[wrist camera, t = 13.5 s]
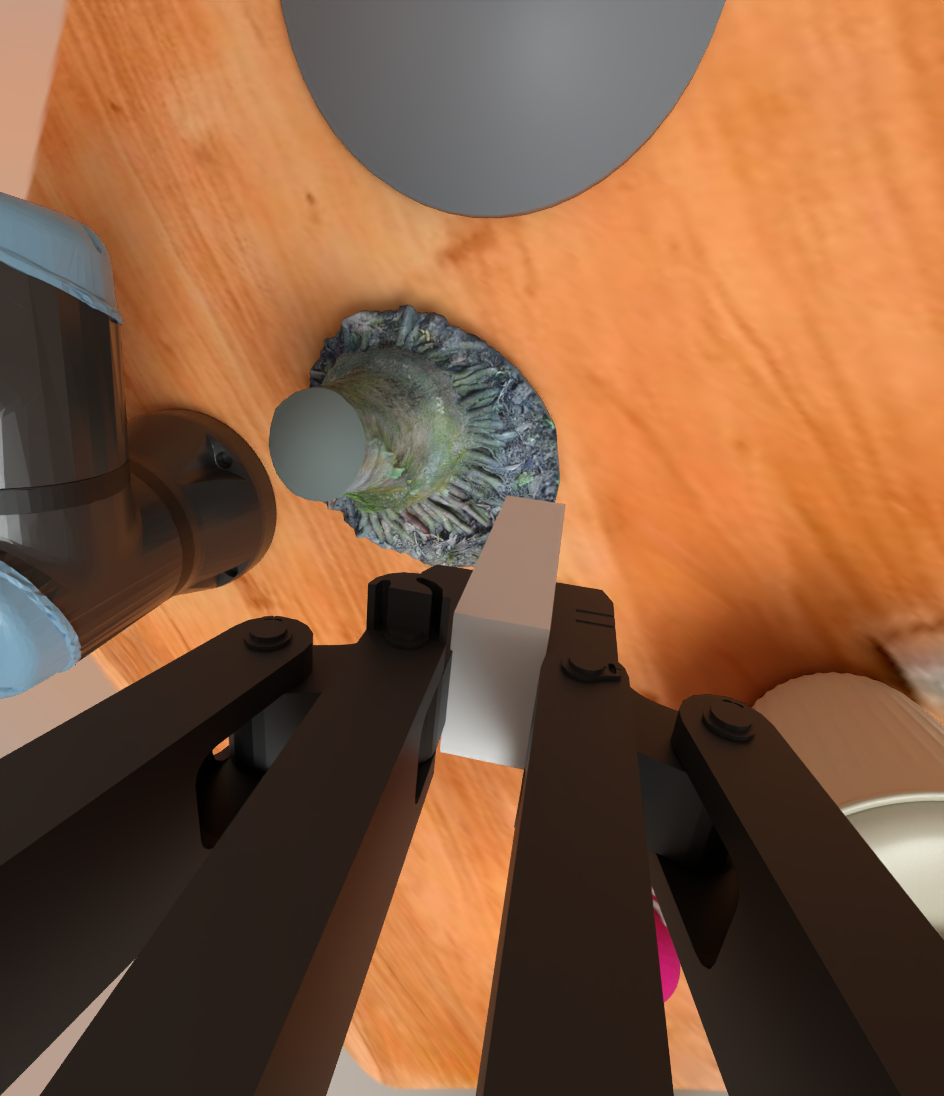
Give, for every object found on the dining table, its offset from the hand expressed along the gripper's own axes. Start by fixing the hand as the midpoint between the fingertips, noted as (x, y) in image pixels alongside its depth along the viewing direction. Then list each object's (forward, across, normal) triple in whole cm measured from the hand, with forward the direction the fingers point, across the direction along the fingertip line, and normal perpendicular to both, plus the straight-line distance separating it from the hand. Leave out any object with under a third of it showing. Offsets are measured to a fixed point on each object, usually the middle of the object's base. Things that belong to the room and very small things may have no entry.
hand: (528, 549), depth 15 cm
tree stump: (+30, -10, -5) cm, 32 cm away
